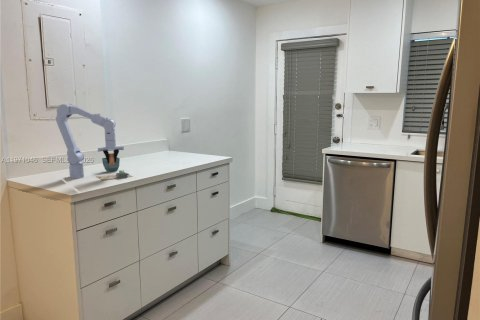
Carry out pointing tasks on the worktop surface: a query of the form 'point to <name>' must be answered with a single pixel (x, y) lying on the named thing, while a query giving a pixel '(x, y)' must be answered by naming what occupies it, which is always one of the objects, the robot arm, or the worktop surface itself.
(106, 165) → the flower pot
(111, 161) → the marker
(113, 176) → the clipboard
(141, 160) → the worktop surface
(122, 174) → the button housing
